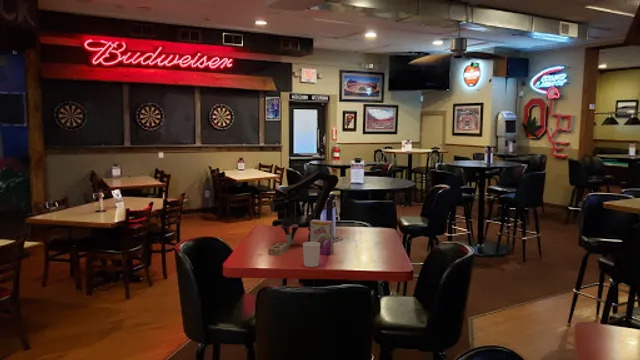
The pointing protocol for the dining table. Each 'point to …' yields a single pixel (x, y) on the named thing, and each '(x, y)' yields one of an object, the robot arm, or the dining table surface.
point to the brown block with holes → (278, 249)
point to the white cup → (311, 254)
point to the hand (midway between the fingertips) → (290, 239)
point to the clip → (289, 238)
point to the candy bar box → (322, 235)
